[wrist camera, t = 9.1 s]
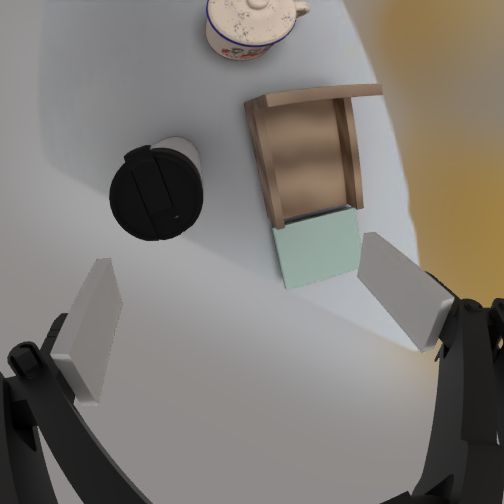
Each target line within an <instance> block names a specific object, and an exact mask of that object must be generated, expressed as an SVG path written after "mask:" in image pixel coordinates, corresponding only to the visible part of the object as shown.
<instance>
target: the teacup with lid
mask: <svg viewBox="0 0 504 504" xmlns="http://www.w3.org/2000/svg"><path fill="white" fill-rule="evenodd" d="M309 11H310V7H309V4H308V3H306V2H303V1H295V2H294V0H208V1H207V6H206V13H207V23H206V37H207V40H208V42H209V44H210V46H211V47H212V48H213V49H214V50H215V51H216V52H217V53H218V54H220V55H222V56H224V57H226V58H229V59H233V60H250V59H253V58H256V57H258V56H260V55H262V54H263V53H265V52H266V51H267V50H268V49H269V48H270V47H271V46H272V45H274V44H275V43H277V42H279V41H281V40H282V39H284V38H285V37H286V36H287V35H288V34H289V33H290V32H291V30H292V29H293V27H294V25H295V22H296V18H299V17H301V16H303V15H305V14H307V13H308V12H309Z"/></svg>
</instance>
